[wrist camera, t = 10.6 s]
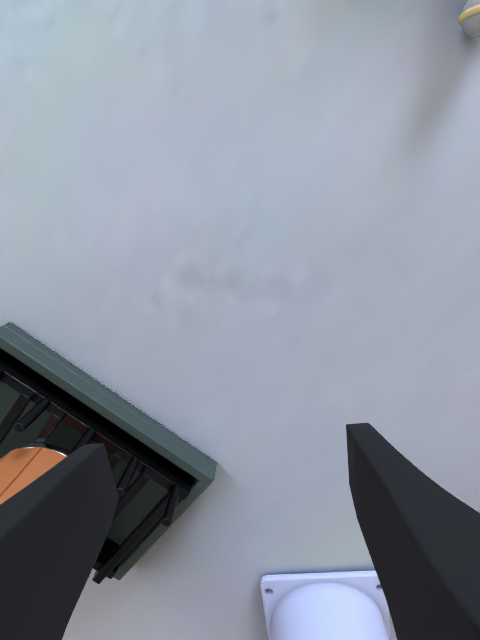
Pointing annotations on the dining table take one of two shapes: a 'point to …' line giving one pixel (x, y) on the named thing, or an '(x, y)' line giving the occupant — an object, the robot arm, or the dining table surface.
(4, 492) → the saucepan
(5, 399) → the dish rack
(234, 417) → the dining table surface
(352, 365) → the dining table surface
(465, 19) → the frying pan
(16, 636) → the robot arm
